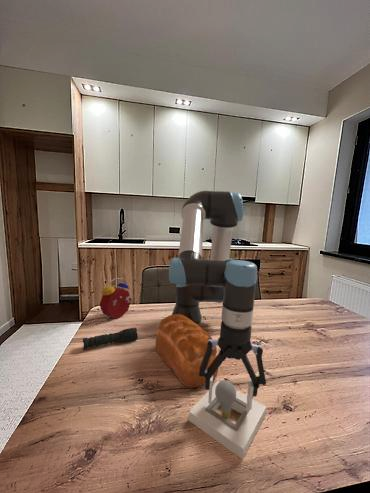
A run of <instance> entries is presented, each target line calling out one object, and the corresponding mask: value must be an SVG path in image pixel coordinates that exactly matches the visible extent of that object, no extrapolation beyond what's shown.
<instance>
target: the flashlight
mask: <svg viewBox="0 0 370 493" xmlns="http://www.w3.org/2000/svg"><path fill="white" fill-rule="evenodd" d="M137 331H138V328H137V327H130V328H125V329H123V330H120V331H118V332H110V333H106V334H100V335H95V336H90V337H89V338H87V337H82V343H83V346H82V347H83V348H82V350H83V351H85V350H88V349H90V348H94V347H95V348H96V347H101V346H106V345H108V344H113V343H118V342H121V343H123V342H124V343H127V342H132V341H135V340H138V337H139V334H138V332H137Z"/></svg>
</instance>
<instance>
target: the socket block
mask: <svg viewBox="0 0 370 493" xmlns="http://www.w3.org/2000/svg"><path fill="white" fill-rule="evenodd" d="M219 382H221V381H220V380H217V381H216V382H215V383H214V384H213V387H212V400H211V404H210V403H208V400H209V390H208V391H206V393H205V394H204V395H203V396H202V397H201V398H200V399H199V400H198V401H197V403H195V405H193V407H192V408H191V409H190V410H189V413H188V422H190V423H192V424H193V425H194V426H195V427H197V428H199V429H200V430H201V431H203V432H205V434H207V435H208V436H210V437H211V438H213V439H214V440H215V441H216V442H218V443H219V444H220V445H222V446H223V447H225V448H226V449H228V450H229V451H230V452H232V453H233V454H235V455H236V456H237V457H238V458H240V459H242V460H243V459H244V457H245V456H246V453H247V452H248V449H250V448H249V447H250V446H251V444H252V442H253V441H254V438H255V436H256V434H257V432H258V430H259V428H260V427H261V425H262V423H263V421H264V419H265V418H266V414H267V406H266V405H264V404H262V403H261V402H259V401H257V400H256V399H253V398H252V408H251V410H249V409H248V405H247V395H246V394H244V393H243V392H240V391H238V390H237V389H235V390H236V399H235V401H234V402H233V404H232V405H231V406H230V409H232V410H234V411H236V412H238V413H239V414H241V415H240V416H239V418H238V419H237V421H236V422H235V423H233V422H232V421H231V420H229V419H228V418H227V419H226V418H224V417H223V415H222V414H219V413H218V412H217V410H219V408H220V406H221V404H220V403H219V402H218V400H217V398H216V395H215V389H216V386H217V384H218V383H219Z"/></svg>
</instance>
